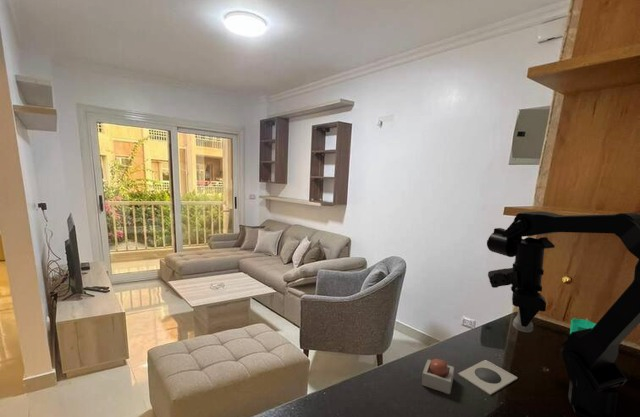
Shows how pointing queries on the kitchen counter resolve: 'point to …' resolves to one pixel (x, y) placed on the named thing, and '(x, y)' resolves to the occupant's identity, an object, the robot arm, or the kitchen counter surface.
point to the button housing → (438, 379)
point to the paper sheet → (487, 377)
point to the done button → (438, 368)
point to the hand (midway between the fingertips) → (523, 322)
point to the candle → (580, 325)
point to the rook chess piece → (519, 327)
